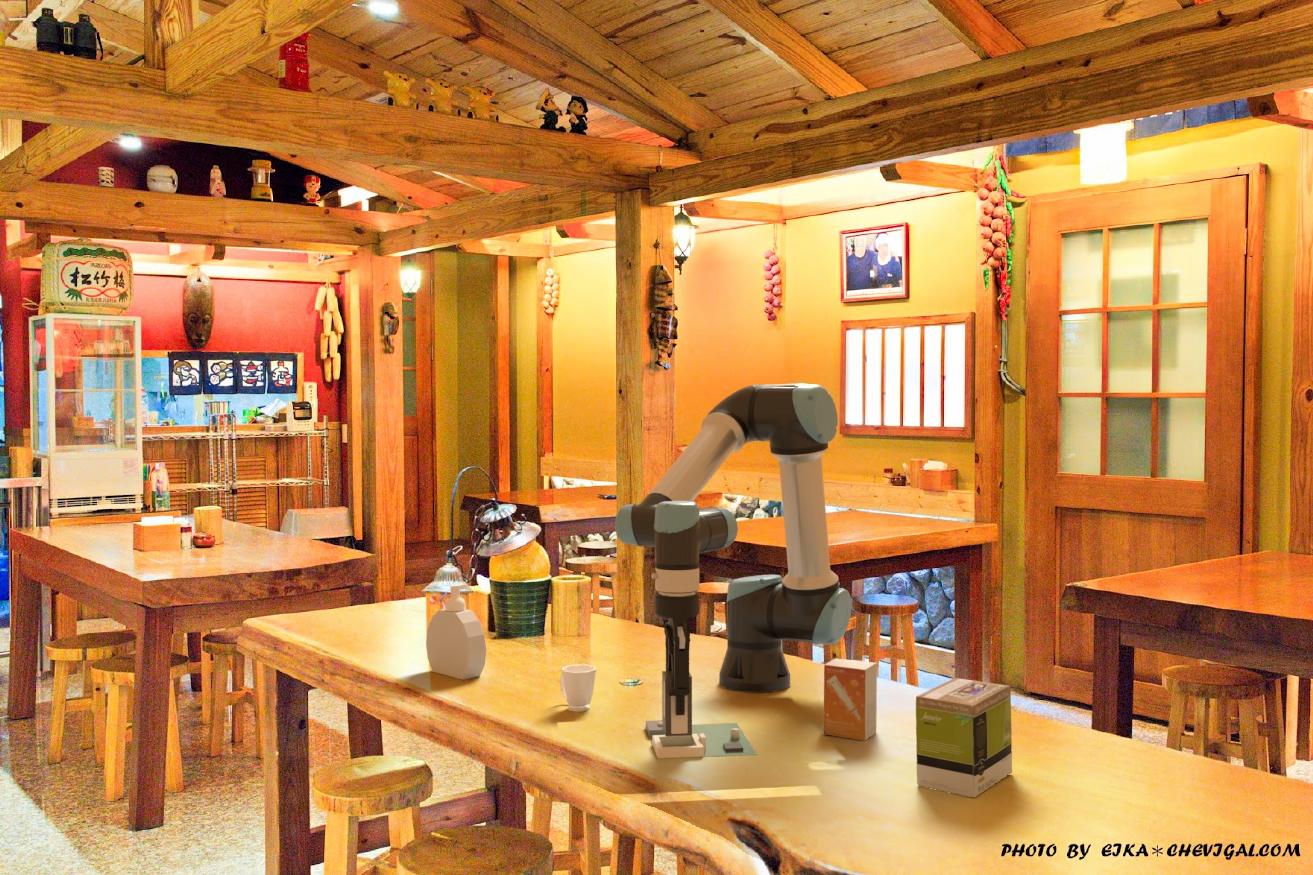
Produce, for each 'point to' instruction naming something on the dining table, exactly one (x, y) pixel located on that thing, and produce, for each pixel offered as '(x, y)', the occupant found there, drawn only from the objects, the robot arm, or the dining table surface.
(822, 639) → the robot arm
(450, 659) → the soap bottle
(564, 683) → the cup
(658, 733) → the grey push button
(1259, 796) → the dining table surface
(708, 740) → the board
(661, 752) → the frame
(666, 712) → the plug
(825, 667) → the small box
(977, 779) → the tea box
